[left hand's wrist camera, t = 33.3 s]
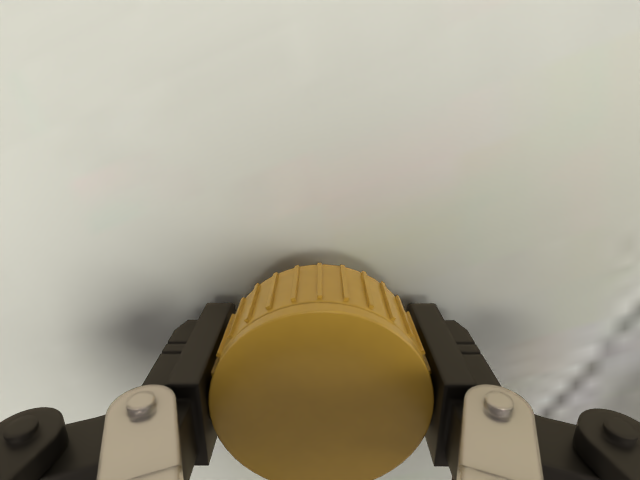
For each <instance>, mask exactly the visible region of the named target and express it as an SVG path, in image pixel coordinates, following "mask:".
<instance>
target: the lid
mask: <svg viewBox="0 0 640 480" xmlns="http://www.w3.org/2000/svg"><path fill="white" fill-rule="evenodd" d="M216 357H217V358H216V361H215V363H214V366H213V369H212V371H211V377H212V379H211V382H210V388H209V398H208V405H209V412H210V417H211V421H212V424H213V427H214V429H215V431H216V433H217V435H218V437H219V439H220V441H221V442H222V444H223V445H224V447H225V448H226V449H227V450H228V451H229V452H230V454H231V455H232V456H233V457H234V458H235V459H236V460H238V461H239V462H240V463H241V464H242V465H243V466H245V467H246V468H248V469H249V470H251V471H252V472H254V473H256V474H258V475H260V476H262V477H264V478H266V479H268V480H374V479H376V478H378V477H381V476H383V475H384V474H386V473H388V472H390V471H391V470H393V469H394V468H396V467H397V466H398V465H400V464H401V463H403V462H404V461H405V460H406V459H407V458H408V457H409V456H410V455H411V454H412V453H413V452H414V450H415V449H416V448H417V447H418V446H419V444H420V443H421V441H422V439H423V438H424V436H425V435H426V432H427V430H428V428H429V425H430V422H431V419H432V415H433V409H434V389H433V384H432V380H431V376H430V374H431V369H430V366H429V364H428V361H427V358H426V356H425V351H424V348H423V346H422V343H421V340H420V338H419V335H418V333H417V330H416V328H415V325H414V323H413V320H412V318H411V315H410V313H409V311H408V312H405V310H404V308H403V305H402V302H401V300H400V297H399V296H398V295H396V296H394V295H393V293H392V292H391V291H389V290H388V289H387V288H386V286H385V283H384V282H382V281H381V282H378V281H377V280H375V279H374V278H372V277H370V276H368V275H367V274H366V272H365V271H362V272H359V271H356V270H353V269H350V268H346V267H345V265H340V266H335V265H325V264H324V265H322V263H317V265H307V266H300V267H299V265H296V266H295V267H294V268H293V269H289V270H286V271H283V272H281V273H278V272H275V273H273V276H272V277H271V278H269V279H267V280H265V281H264V282H262V283H261V284H259V283H257V284H256V285H255V287H254V290H253V291H252V292H251V293H250V294H249V295H248V296H247V297H246V298H244V297H242V299H241V300H240V303H239V306H238V309H237V311H236V314H233V313H232V315H231V317H230V320H229V323H228V325H227V328H226V331H225V333H224V336H223V338H222V341H221V344H220V346H219V349H218V352H217V354H216Z"/></svg>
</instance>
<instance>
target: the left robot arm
mask: <svg viewBox="0 0 640 480" xmlns="http://www.w3.org/2000/svg"><path fill="white" fill-rule="evenodd" d="M408 311H409V313H410V315H411V318H412V320H413V323H414V325H415V328H416V330H417V333H418V335H419V338H420V340H421V343H422V346H423V348H424V351H425V356H426V358H427V361H428V364H429V366H430V369H431V374H430V376H431V380H432V384H433V389H434V409H433V415H432V419H431V422H430V425H429V428H428V430H427V432H426V435H425V437H426V441H427V444H428V447H429V451H430V454H431V457H432V461H433V464H434V466H449V468H450V471H451V474H452V480H640V423H639V422H638V421H636V420H634V419H632V418H630V417H628V416H626V415H624V414H621V413H618V412H615V411H611V410H607V409H589V410H586V411H584V412H582V413H581V414H580V416H579V418H578V422H577V425H574V424H570V423H565V422H561V421H557V420H552V419H548V418H544V417H541V416H538V415H535V414H534V412H533V410H532V408H531V406H530V405H529V404H528V402H527V401H526V400H525V399H523V398H522V397H521V396H520V395H518V394H516V393H515V392H513V391H511V390H509V389H506V388H504V387H501V385H500V384H499V382H498V380H497V379H496V377H495V375H494V374H493V372H492V370H491V369H490V367H489V365H488V364H487V362H486V360H485V359H484V357H483V355H482V354H480V350H479V349H478V347H477V345H475V343H474V340H473V339H472V337H471V336H470V334H469V332H468V331H467V330H466V329H465V328H464V327H462V326H461V325H460V324H458V323H457V322H456V321H454V320H444V319H443V317H442V315H441V313H440V312H439V310H438V308H437V306H436V304H434V303H410V304H408V307H407V312H408ZM232 313H233V314H235V307H234V304H233V303H207V304H206V306H205V308H204V310H203V312H202V314H201V316H200V317H199V319H198V320H187V321H186V322H185V323H184V324H182V325H181V326H180V327H178V328H177V329H176V330H175V331H174V332H173V334H172V336H171V337H170V339H169V341H168V344H166V346H165V348H164V349H163V351H162V354H160V356H159V358H158V359H157V361H156V363H155V364H154V366H153V368H152V369H151V371H150V373H149V374H148V376H147V378H146V380H145V381H144V383H143V385H142V386H140V387H136V388H134V389H131V390H129V391H127V392H125V393H124V394H122V395H120V396H119V397H118V398H117V399H115V400H114V401H113V402H112V404H111V405H110V406H109V408H108V410H107V412H106V415H103V416H100V417H96V418H92V419H87V420H83V421H79V422H75V423H70V424H66V425H65V422H64V419H63V416H62V414H61V412H60V411H58V410H56V409H54V408H48V407H40V408H33V409H29V410H26V411H23V412H20V413H17V414H15V415H13V416H11V417H9V418H7V419H5V420H3V421H2V422H0V480H189V479H190V476H191V473H192V470H193V467H194V465H209V462H210V459H211V455H212V452H213V449H214V445H215V442H216V438H217V433H216V431H215V429H214V427H213V424H212V421H211V417H210V412H209V405H208V398H209V388H210V382H211V379H212V377H211V371H212V369H213V366H214V363H215V361H216V358H217V357H216V354H217V352H218V349H219V346H220V344H221V341H222V338H223V336H224V333H225V331H226V328H227V325H228V323H229V320H230V317H231V315H232Z"/></svg>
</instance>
